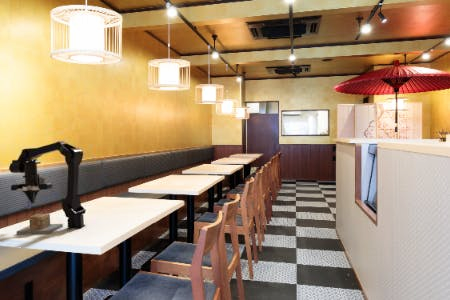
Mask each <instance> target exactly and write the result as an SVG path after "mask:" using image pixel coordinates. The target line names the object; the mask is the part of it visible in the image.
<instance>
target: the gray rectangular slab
mask: <svg viewBox="0 0 450 300" xmlns="http://www.w3.org/2000/svg"><path fill="white" fill-rule="evenodd" d="M63 226H64V224H63V223H50V226H48V227H46V228H44V229H30V225H28V226H25V227H23V228H21V229H19V230H16V235H43V234H44V235H46V234H48V235H49V234H52V233H54V232H56V231H58V230H59V229H62V228H63Z"/></svg>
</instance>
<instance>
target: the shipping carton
mask: <svg viewBox="0 0 450 300" xmlns="http://www.w3.org/2000/svg"><path fill="white" fill-rule="evenodd" d="M28 220H29V226H30V229H44V228H46V227H48V226H50V224H51V214H50V213H36V214H33V215H31V216H28Z"/></svg>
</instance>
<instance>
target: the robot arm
mask: <svg viewBox="0 0 450 300" xmlns="http://www.w3.org/2000/svg"><path fill="white" fill-rule="evenodd" d="M56 151H58V152H59V153H60V154H61V155H62V156H63V157H64V160H65V163H66V166H67V181H66V182H67V183H66V184H67V185H66V186H67V187H66V188H67V189H66V196H65V197H64V198H61V207H62V211H63V212H64V215H65V217H66V218H67V228H66V229H67V230H81V229H83V228H84V227H85V226H86V224H85V223H84V222H85V220H84V214H86V211H87V210H86V208H85V207H84V206H83V205H82V204H81V198H80V197H79V194H78V191H79V190H78V189H79V173H80V172H79V169H80V168H79V167H80V165H81V164H82V161H83V157H84V152H83V150H82V149H80V148H78V147H76V146H74V145H71V144H69V143H68V142H66V141H63V140H61V141H56V142H54V143H49V144H46V145H42V146H38V147H30V148H28V147H27V148H23V149H22V150H21V153H20V154H19V156H18V158H17V159H12V160H11V163H10V164H9V166H8V170H9V172H10V173H11V174H24V175H22V178H24V183H23V182H22V183H15V184H11V185H10V191H18V189H19V190H21V189H22V190H21V192H22V193H24V195H26V197H27V199H28V200H29V201H30V203H31V204H34V203H35V202H36V199H37V198H36V197H37V195H38V193H39V192H40V191H42V190H43V191H45V190H49V189H53V183H51V182H45V178H43V177H41V176H40V174H39V173H38V165H39V164H42V163H41V161H40V160H38V158H40V157H42V156H44V155H45V154H49V153H53V152H56Z"/></svg>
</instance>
